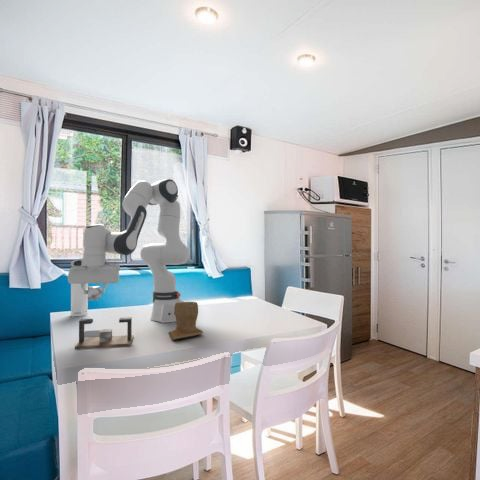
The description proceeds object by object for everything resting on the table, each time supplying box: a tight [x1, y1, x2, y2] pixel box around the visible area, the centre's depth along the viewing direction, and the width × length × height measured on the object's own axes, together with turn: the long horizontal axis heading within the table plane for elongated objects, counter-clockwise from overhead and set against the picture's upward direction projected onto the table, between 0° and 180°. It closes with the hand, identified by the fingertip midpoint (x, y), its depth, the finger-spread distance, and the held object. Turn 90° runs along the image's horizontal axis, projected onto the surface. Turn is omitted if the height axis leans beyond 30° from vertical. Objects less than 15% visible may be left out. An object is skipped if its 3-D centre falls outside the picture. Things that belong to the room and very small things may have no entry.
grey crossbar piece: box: [87, 285, 102, 302], centre depth 141 cm, size 12×5×5 cm, turn 12°
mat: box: [84, 329, 102, 337], centre depth 142 cm, size 9×9×1 cm
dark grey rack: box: [74, 316, 134, 350], centre depth 131 cm, size 20×11×10 cm, turn 102°
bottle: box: [70, 283, 89, 317], centre depth 176 cm, size 8×8×28 cm
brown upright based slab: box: [168, 301, 204, 341], centre depth 141 cm, size 15×12×15 cm
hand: (94, 293), depth 141 cm, fingers closed on grey crossbar piece, 5 cm apart
